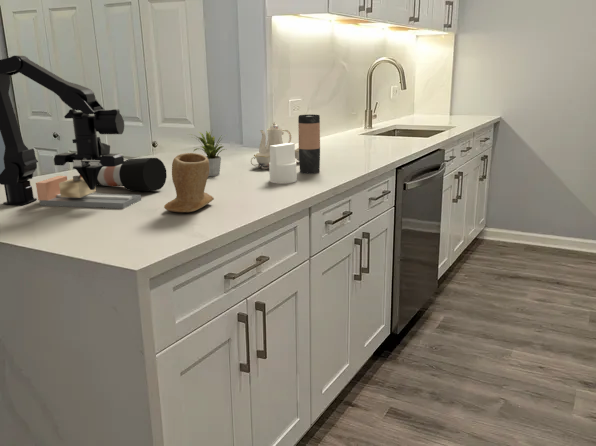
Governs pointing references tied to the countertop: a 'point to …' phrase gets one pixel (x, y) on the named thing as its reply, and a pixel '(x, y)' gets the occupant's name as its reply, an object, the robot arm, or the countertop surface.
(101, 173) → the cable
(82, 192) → the block
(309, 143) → the travel mug
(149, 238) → the countertop surface
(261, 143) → the chinaware
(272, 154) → the base with upright slab
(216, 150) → the house plant
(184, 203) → the stone cup
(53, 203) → the track
